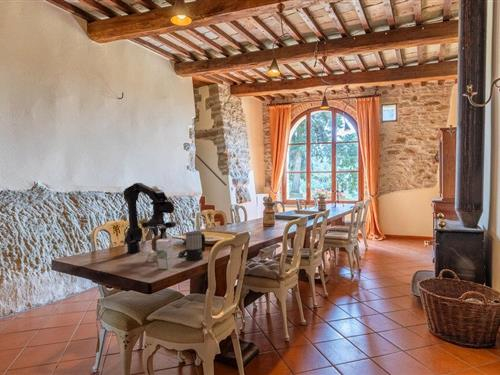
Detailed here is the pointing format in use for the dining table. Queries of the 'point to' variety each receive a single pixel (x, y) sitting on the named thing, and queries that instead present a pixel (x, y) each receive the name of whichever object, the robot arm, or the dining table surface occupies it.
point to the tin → (154, 244)
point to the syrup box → (164, 253)
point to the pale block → (152, 256)
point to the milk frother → (194, 246)
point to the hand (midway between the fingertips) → (159, 239)
